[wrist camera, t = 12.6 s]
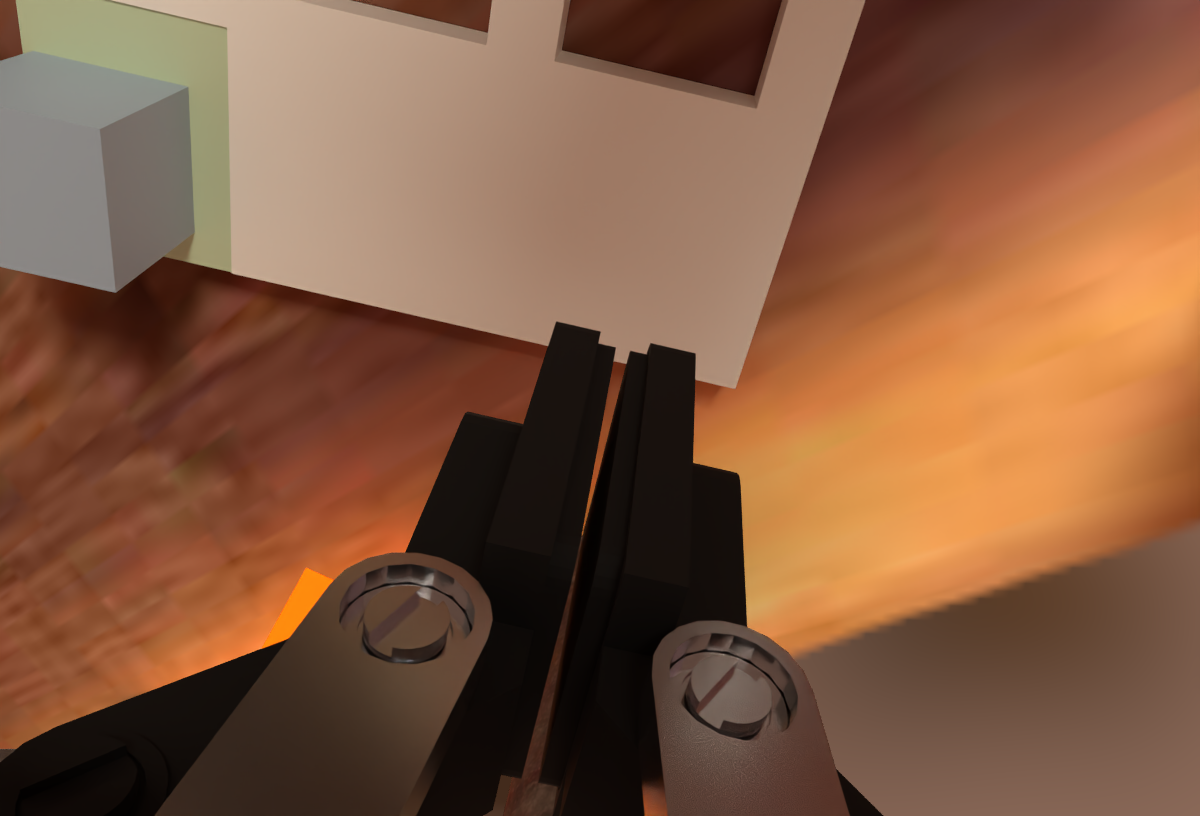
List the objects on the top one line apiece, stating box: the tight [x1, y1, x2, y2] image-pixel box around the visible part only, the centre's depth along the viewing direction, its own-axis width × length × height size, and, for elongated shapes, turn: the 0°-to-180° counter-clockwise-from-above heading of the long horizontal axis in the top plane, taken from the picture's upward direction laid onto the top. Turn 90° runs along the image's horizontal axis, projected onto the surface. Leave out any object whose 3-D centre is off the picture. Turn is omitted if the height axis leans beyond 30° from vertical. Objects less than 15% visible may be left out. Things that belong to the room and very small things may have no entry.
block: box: [0, 51, 195, 293], centre depth 34 cm, size 6×6×6 cm
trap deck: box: [16, 0, 865, 389], centre depth 34 cm, size 20×30×2 cm, turn 78°
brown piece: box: [503, 536, 583, 816], centre depth 40 cm, size 8×7×20 cm
